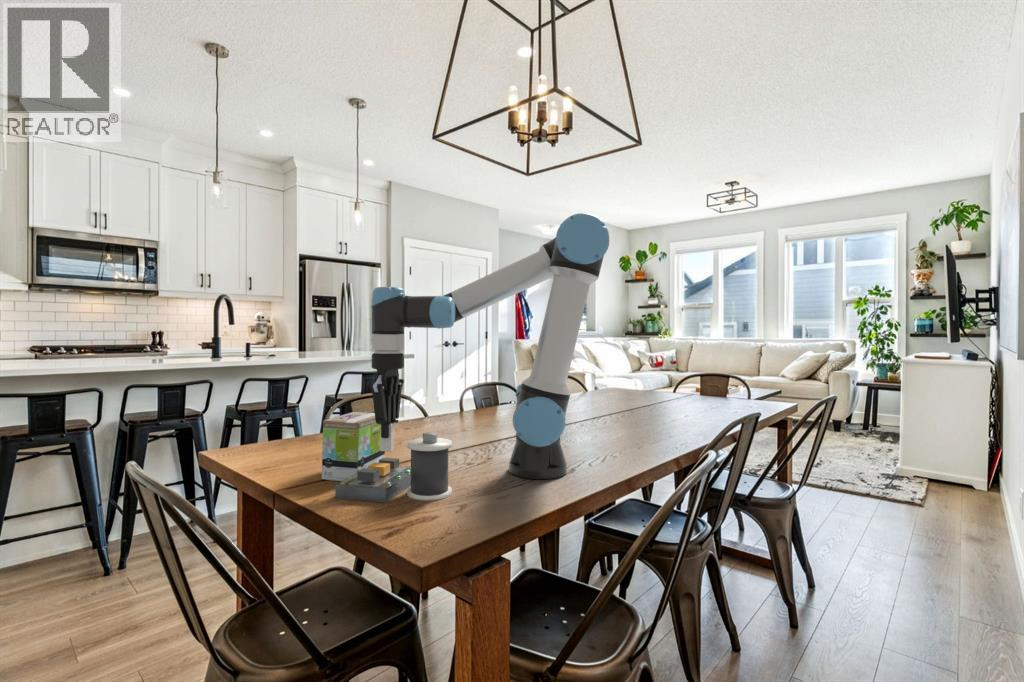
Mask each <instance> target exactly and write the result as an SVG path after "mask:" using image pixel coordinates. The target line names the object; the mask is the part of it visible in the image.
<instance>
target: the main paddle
mask: <svg viewBox="0 0 1024 682" xmlns="http://www.w3.org/2000/svg"><path fill="white" fill-rule="evenodd" d="M368 469H378V470H379V476H384V475H386V474H388V473H390V464H389V463H376V462H374V463H373V464H371V465H369V466H368Z"/></svg>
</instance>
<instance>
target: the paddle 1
mask: <svg viewBox="0 0 1024 682" xmlns="http://www.w3.org/2000/svg"><path fill="white" fill-rule="evenodd" d="M378 479H379V470H378V469H365V468H363V469H361V470H359V471H357V480H358V481H369V482H374V481H376V480H378Z"/></svg>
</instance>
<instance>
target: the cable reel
mask: <svg viewBox="0 0 1024 682" xmlns="http://www.w3.org/2000/svg"><path fill="white" fill-rule="evenodd" d="M406 443H407V444H406V445H407V447H406V448H407V449H409V450H410V468H411V486H409V487H408V488H407V489H406V496H407V497H408V498H410V499H411V500H416V501H424V502H428V501H432V502H433V501H438V500H443V499H447V498H448V497H450V496H451V495H452V491H453V489H452V487H451V486H450V485H449V452H450V451H449V449H450V448H452V447H453V441H452V440H450V439H448V438H444V437H438V433H437V432H435V431H434V432H433V431H428V432H427V431H426V432H423V433H422V437H421V438H414V439H411V440H409V441H407V442H406Z"/></svg>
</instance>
